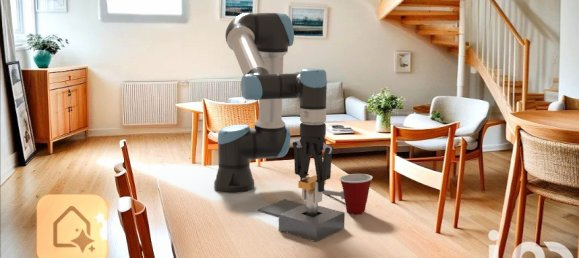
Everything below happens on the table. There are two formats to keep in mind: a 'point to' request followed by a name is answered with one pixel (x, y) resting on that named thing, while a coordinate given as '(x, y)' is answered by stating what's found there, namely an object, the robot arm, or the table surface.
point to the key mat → (279, 207)
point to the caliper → (334, 193)
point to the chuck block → (311, 223)
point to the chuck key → (310, 195)
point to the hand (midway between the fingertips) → (312, 200)
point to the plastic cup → (355, 192)
